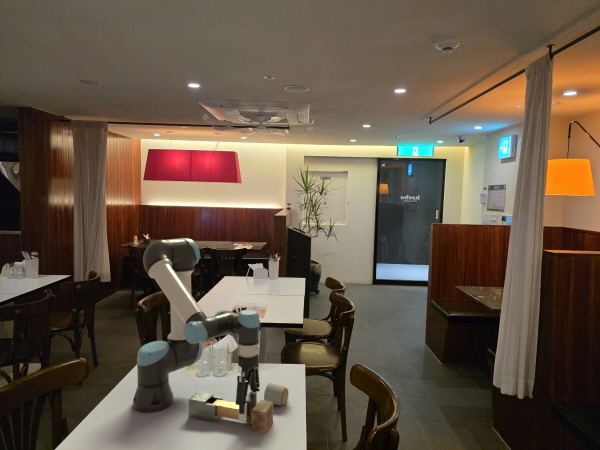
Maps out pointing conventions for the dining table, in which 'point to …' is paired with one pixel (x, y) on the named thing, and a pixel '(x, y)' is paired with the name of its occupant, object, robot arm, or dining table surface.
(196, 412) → the sleeve
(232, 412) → the tan wooden post
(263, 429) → the socket
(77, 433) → the dining table surface
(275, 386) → the ceramic mug
